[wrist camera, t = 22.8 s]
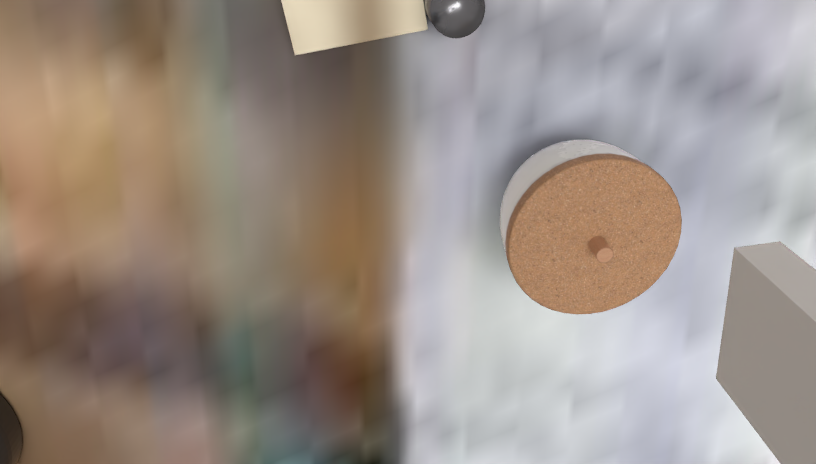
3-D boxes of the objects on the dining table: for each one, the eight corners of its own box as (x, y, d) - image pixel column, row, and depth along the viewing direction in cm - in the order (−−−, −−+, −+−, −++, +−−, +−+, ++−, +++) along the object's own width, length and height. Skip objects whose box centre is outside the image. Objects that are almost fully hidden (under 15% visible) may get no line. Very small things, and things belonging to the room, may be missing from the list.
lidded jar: (472, 138, 44) (501, 195, 36) (628, 101, 44) (694, 149, 35) (497, 270, 49) (527, 347, 41) (637, 238, 49) (697, 308, 40)
